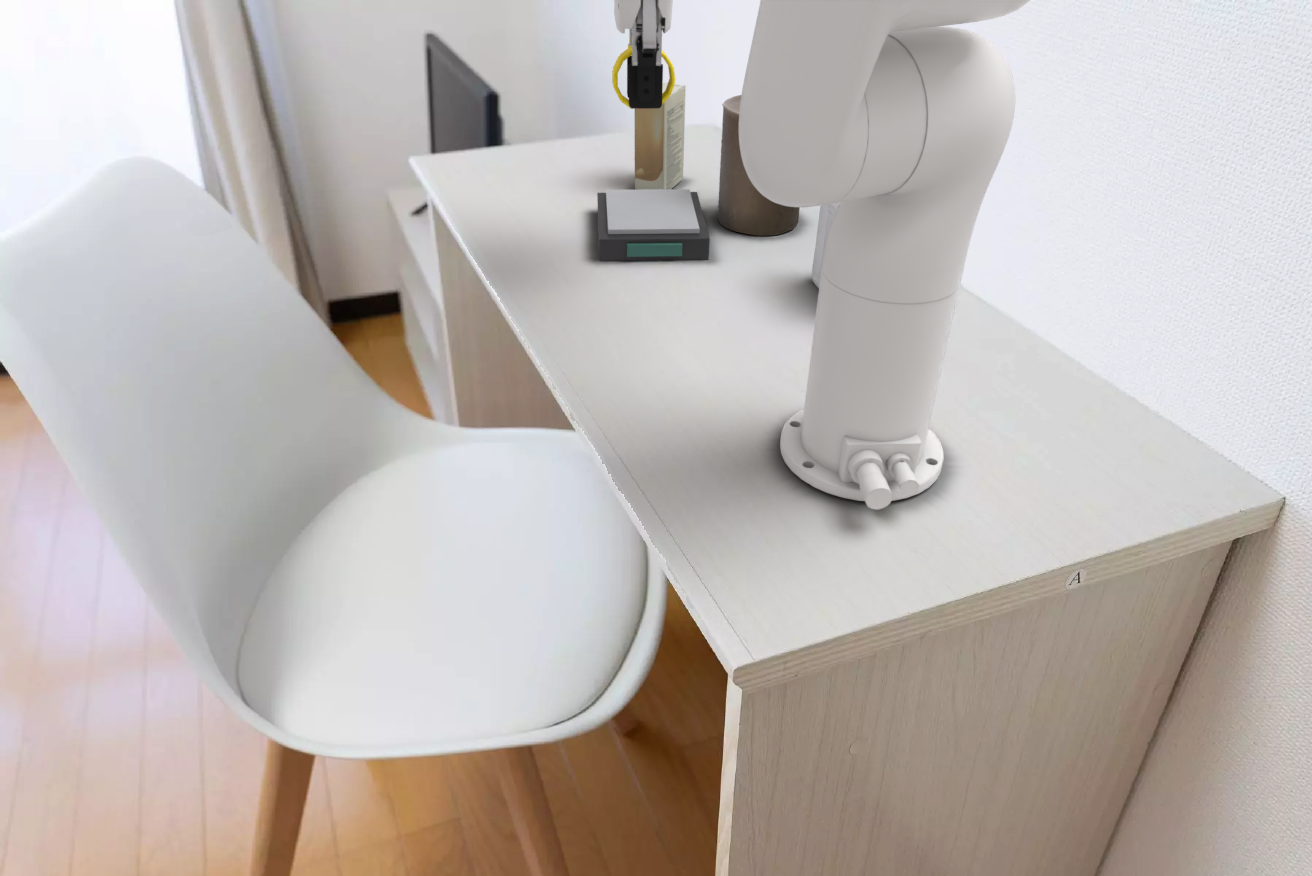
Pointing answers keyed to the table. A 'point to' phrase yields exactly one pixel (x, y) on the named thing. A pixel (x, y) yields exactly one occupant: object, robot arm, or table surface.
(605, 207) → the scale
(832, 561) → the table surface
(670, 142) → the cosmetic box
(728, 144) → the pillar candle
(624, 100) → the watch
